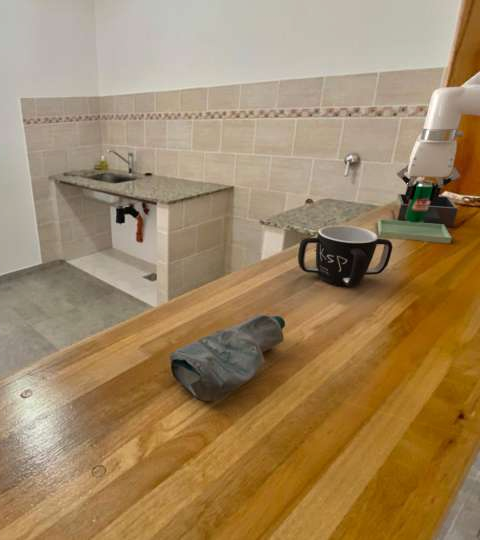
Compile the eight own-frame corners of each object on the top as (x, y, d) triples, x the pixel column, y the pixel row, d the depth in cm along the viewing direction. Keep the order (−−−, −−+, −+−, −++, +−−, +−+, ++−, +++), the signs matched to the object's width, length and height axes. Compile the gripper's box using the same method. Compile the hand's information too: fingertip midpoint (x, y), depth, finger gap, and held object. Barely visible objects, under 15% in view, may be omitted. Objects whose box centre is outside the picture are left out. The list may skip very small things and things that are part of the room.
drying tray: (442, 229, 120) (444, 224, 119) (450, 243, 109) (451, 237, 109) (377, 224, 128) (379, 219, 127) (379, 236, 117) (380, 231, 117)
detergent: (210, 420, 55) (314, 354, 67) (208, 380, 53) (316, 318, 64) (155, 377, 66) (253, 326, 77) (151, 342, 63) (253, 295, 75)
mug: (287, 275, 97) (293, 230, 92) (329, 261, 103) (337, 218, 98) (348, 302, 83) (359, 251, 78) (392, 283, 90) (405, 235, 85)
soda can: (408, 223, 115) (419, 183, 110) (401, 218, 120) (411, 179, 115) (427, 223, 114) (439, 183, 109) (420, 218, 119) (431, 179, 114)
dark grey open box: (443, 214, 133) (449, 196, 130) (451, 228, 121) (458, 208, 118) (393, 211, 140) (397, 193, 137) (396, 223, 128) (401, 204, 125)
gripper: (474, 134, 105) (454, 198, 113) (400, 134, 114) (385, 194, 121) (481, 137, 100) (459, 205, 107) (402, 137, 108) (386, 200, 115)
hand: (420, 198), depth 114 cm, fingers closed on soda can, 5 cm apart
